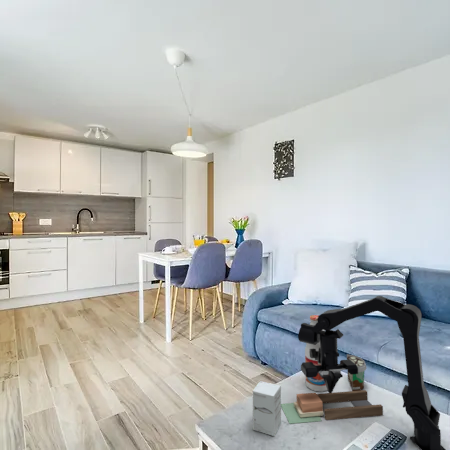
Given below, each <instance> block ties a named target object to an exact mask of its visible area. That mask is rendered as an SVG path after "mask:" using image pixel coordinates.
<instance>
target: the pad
mask: <svg viewBox="0 0 450 450" xmlns="http://www.w3.org/2000/svg"><path fill="white" fill-rule="evenodd" d="M281 410H282V411H283V413H284V415H285V418H286V420H287V422H288V424H289V425H293V424H295V425H296V424H305V423H315V422H322V421H323V420H322V418H321V416H313V417H301V418H300V416H299V414H298V412H297V410H296V409H295V407H294V402H288V403H281Z"/></svg>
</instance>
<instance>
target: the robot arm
mask: <svg viewBox="0 0 450 450" xmlns="http://www.w3.org/2000/svg"><path fill="white" fill-rule="evenodd" d="M374 312H375V313H376V312H379V313H382V314H383V315H384V316H386V317H387V318H389V319H390V320H393V321H395V322H396V323H397V327H398V330H399V332H400V334H401V335H402V339H403V347H404V357H405V366H406V376H407V377H406V379H407V384H405V385H404V387H403V389H402V391H401V397H402V399H403V404H402V408H405V412H406V414H407V416H409V417H410V418H411V421H412V422H413V436H409V440H410V441H411V442H412V443H414V445H415V446H416V447H418V448H419V449H420V450H447V449H446V448H445V447H444V446H442V443H441V442H442V441H441V438H442V437H441V429H440V427H439V423H440V417H441V413H440V412H439V410H437V409H436V408H435V406H434V405H433V404H432V402H431V399H430V395H429V392H428V390H427V388H426V387H427V386H425V383H424V382H425V381H424V373H423V362H422V355H421V345H420V332H421V325H422V311H421V309H420V308H419V307H417V306H416V305H413V304H409V303H407V304H406V303H403V302H399V301H397V300H395V299H393V300H392V299H389V298H386V297H384V296H382V295H377V296H375V297H373V298H371V299H368V300H365V301H361V302H359V303H356V304H353V305H350V306H348V307H345V308H334V309H328V310H326V311H324V312H322V313H321V314H318V315H319V316H318V319H317V323H316V325H310V323H306V322H302V323H300V328H299V331H298V334H297V338H298V341H299V342H301V343H305V344H306V343H308V344H313V345H316V344H317V343H319V342H320V348H319V351H316V349H310V352H309V353H310V358H315V360H318V363H320V364H321V365H316V366H315V365H314V364H313V363H312V362H305V361H303V362H302V363H301V365H300V371H302V373H303V374H304V376H305V378H306V377H316V376H317V375H318V374H319V375H320V376H321V377H322V378H323V379H324V382H325V384H326V387H327V393H333V391H334V389H335V387H336V386H337V383H338V382H339V380H340V379H341V378H343V377H344V376H343V374H342V371H343V370H344V371H345V370H346V371H347V370H348V371H347V373H348V372H349V373H350V374H358V373H359V372H358V366H357V365H356V364H355V363H354V362H352V361H351V360H350V359H349V360H347V359H341V360H340V361H338V359H339V357H340V353H339V352H338V339H341V338H342V337H343V336H344V333H343V332H341V331H340V329H339V328H337V329H335V330H333V329H334V328H336V327H338V326H339V325H341V324H343V323H344V322H347V321H349V320H354V319H355V318H359V317H362V316H366V315H368V314H371V313H374ZM322 330H325V331H322ZM338 362H339V363H338Z"/></svg>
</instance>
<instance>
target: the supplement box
mask: <svg viewBox="0 0 450 450" xmlns="http://www.w3.org/2000/svg"><path fill="white" fill-rule="evenodd" d="M281 395H282V385H280V384H276V383H270V382H266V381H262V380H260V381H259V382H258V383H257V385H255V387H254V388H253V390H252V430H253V431H257V432H260V433H263V434H266V435H269V436H272V437H275V436H276V434H277V432H278V430H279V428H280V426H281V424H282V407H281V404H282V399H281V398H282V397H281Z"/></svg>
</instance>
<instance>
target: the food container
mask: <svg viewBox="0 0 450 450" xmlns="http://www.w3.org/2000/svg"><path fill="white" fill-rule="evenodd" d="M349 359H350V360H351V361H352V362H354V363H355V364H356V365H357V366H358V372H359V373H358V374H350V373H349V372H348V370H346V371H347V380H348V383H349V386H350V388H351V391H361V390H364V387H365V384H364V383H365V371H367V364H366V361H365V360H364V359H363V358H361V357H359V356H357V355H353V354H346V360H349Z"/></svg>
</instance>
